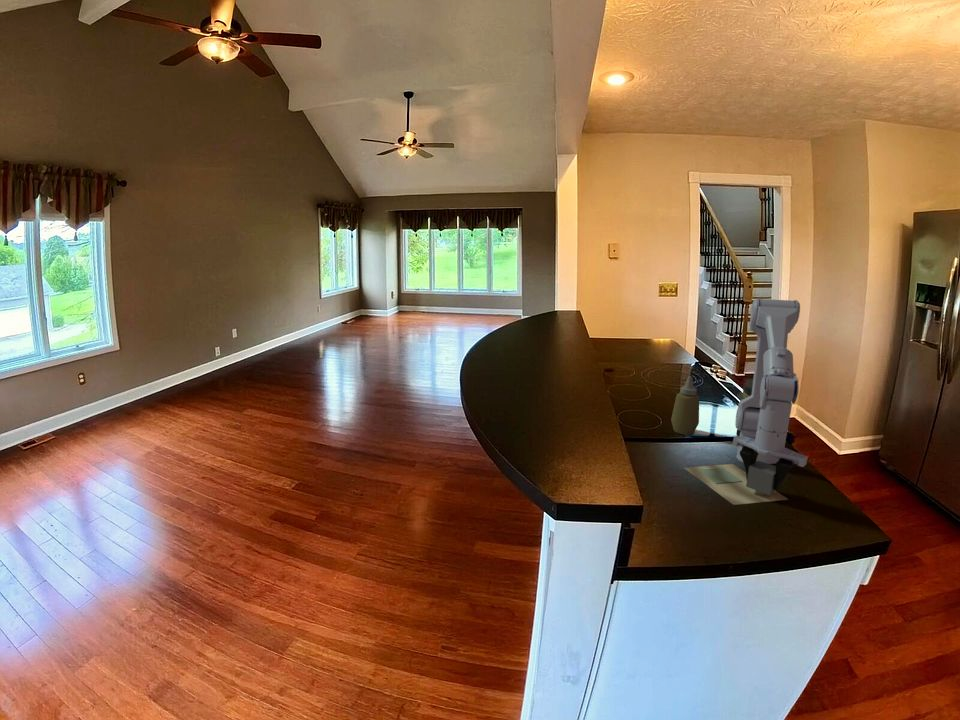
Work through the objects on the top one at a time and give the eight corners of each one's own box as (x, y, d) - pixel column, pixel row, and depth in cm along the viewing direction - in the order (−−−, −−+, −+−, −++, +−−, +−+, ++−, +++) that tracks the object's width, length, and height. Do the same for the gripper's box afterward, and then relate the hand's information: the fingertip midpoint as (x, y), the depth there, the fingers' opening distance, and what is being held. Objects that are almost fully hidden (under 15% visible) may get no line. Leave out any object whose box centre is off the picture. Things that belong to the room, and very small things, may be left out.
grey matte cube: (755, 480, 111) (758, 460, 110) (778, 488, 108) (781, 468, 106) (746, 486, 108) (749, 466, 107) (769, 495, 104) (773, 474, 103)
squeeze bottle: (665, 427, 152) (671, 373, 147) (689, 426, 152) (695, 373, 148) (677, 437, 144) (684, 380, 140) (702, 436, 144) (710, 380, 140)
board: (731, 469, 123) (734, 449, 122) (787, 505, 106) (791, 483, 105) (683, 473, 121) (686, 453, 119) (732, 510, 103) (736, 488, 102)
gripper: (730, 422, 107) (722, 477, 111) (803, 443, 97) (792, 502, 100) (743, 416, 112) (735, 468, 115) (814, 435, 101) (803, 492, 104)
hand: (762, 483), depth 108 cm, fingers closed on grey matte cube, 5 cm apart
